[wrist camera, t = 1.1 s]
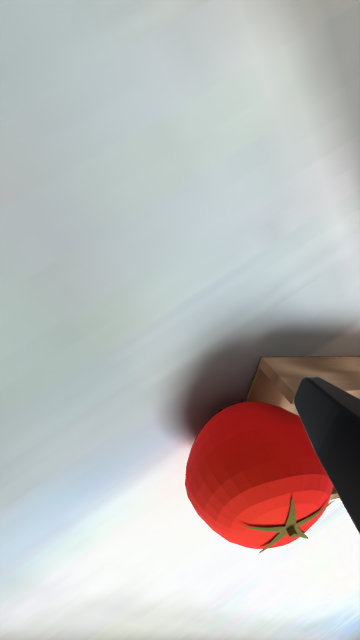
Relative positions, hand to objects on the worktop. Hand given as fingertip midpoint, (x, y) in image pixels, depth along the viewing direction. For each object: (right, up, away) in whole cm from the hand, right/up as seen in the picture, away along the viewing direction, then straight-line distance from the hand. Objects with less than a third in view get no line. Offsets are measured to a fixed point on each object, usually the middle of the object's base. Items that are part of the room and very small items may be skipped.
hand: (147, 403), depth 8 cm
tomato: (+6, -8, +23) cm, 26 cm away
